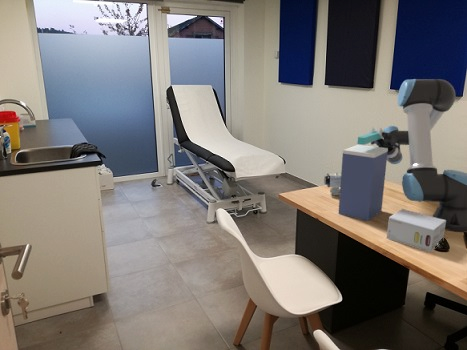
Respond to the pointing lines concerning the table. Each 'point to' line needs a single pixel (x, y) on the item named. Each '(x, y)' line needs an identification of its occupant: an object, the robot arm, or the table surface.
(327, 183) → the pneumatic valve
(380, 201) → the pedestal
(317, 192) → the table surface
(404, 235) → the supplement box
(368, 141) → the bar
